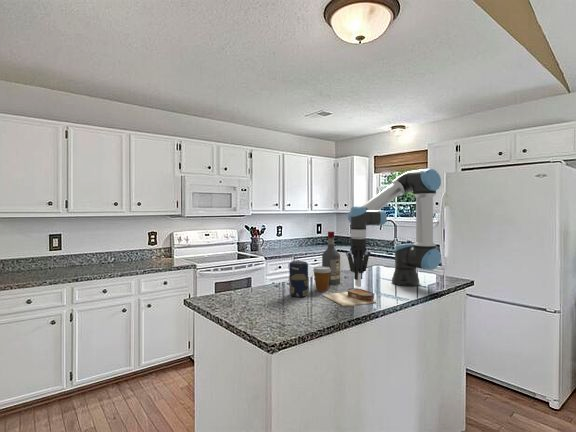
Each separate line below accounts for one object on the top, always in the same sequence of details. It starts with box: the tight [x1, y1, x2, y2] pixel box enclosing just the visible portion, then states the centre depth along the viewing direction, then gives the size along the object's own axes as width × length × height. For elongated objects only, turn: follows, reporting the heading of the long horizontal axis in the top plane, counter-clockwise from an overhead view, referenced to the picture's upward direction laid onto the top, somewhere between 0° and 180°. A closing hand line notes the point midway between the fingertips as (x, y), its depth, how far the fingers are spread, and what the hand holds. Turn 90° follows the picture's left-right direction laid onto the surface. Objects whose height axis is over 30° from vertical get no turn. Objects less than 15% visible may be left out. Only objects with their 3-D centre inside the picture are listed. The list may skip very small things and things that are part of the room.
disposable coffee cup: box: [312, 265, 331, 292], centre depth 188 cm, size 10×10×12 cm
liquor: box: [321, 231, 341, 285], centre depth 205 cm, size 9×9×30 cm
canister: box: [288, 259, 309, 298], centre depth 176 cm, size 10×10×18 cm
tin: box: [347, 287, 375, 301], centre depth 171 cm, size 15×3×8 cm
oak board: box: [322, 291, 377, 308], centre depth 169 cm, size 17×21×1 cm
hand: (358, 286), depth 171 cm, fingers closed
